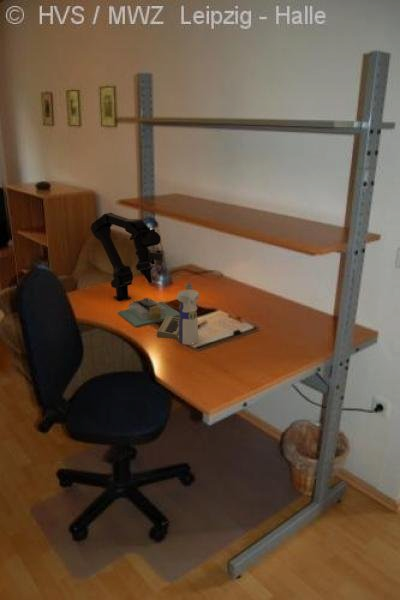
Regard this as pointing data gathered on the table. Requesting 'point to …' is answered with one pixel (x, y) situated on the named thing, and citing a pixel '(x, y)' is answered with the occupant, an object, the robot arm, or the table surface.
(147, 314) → the heat sink
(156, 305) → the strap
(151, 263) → the robot arm
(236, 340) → the table surface
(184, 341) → the water bottle
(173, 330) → the computer
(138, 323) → the board
